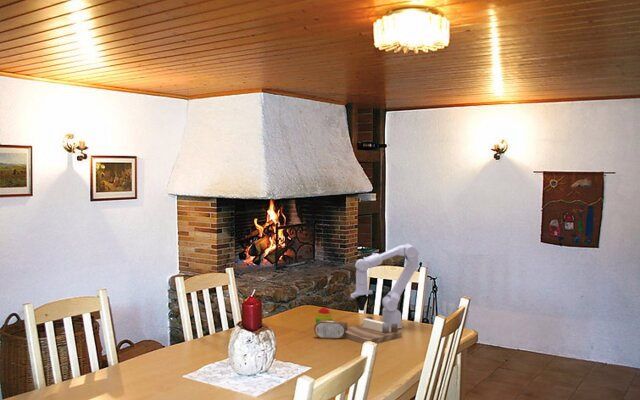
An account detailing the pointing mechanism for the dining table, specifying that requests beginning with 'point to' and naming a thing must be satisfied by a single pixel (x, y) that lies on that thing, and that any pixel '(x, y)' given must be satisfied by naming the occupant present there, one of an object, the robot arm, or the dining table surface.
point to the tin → (330, 329)
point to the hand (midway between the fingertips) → (361, 310)
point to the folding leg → (376, 325)
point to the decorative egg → (323, 315)
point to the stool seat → (371, 333)
